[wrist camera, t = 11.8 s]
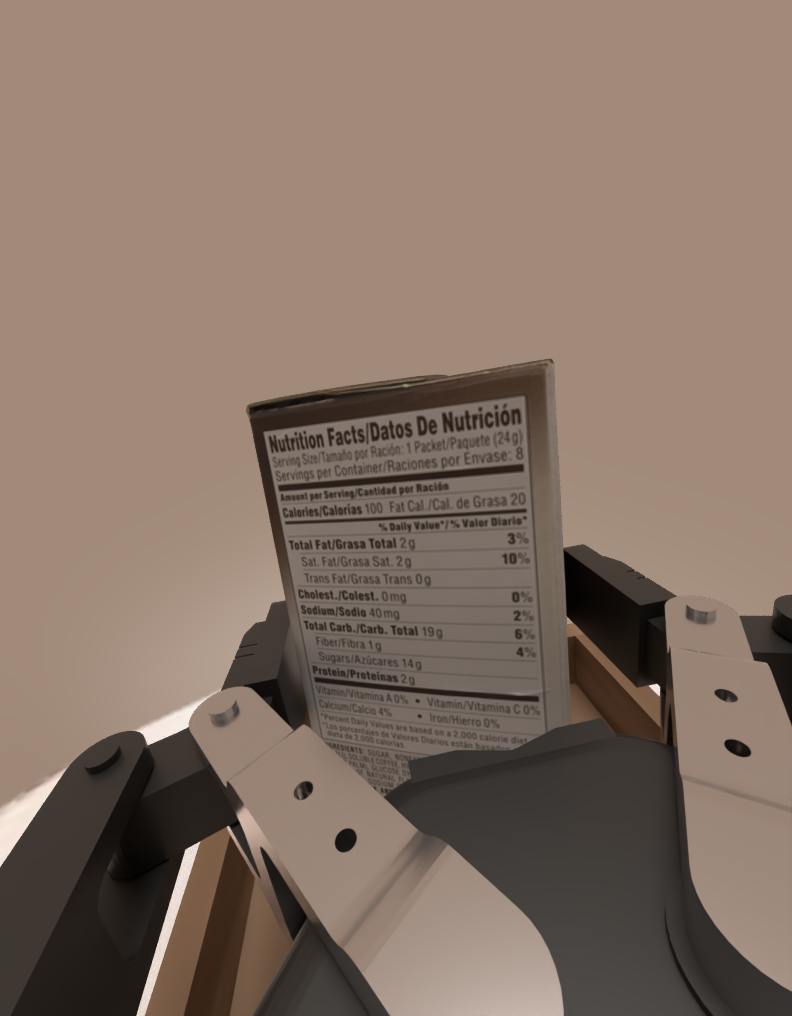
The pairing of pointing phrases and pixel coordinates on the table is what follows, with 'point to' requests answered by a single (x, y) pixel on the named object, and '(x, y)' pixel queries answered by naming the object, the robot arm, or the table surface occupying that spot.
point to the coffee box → (422, 561)
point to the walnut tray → (246, 912)
